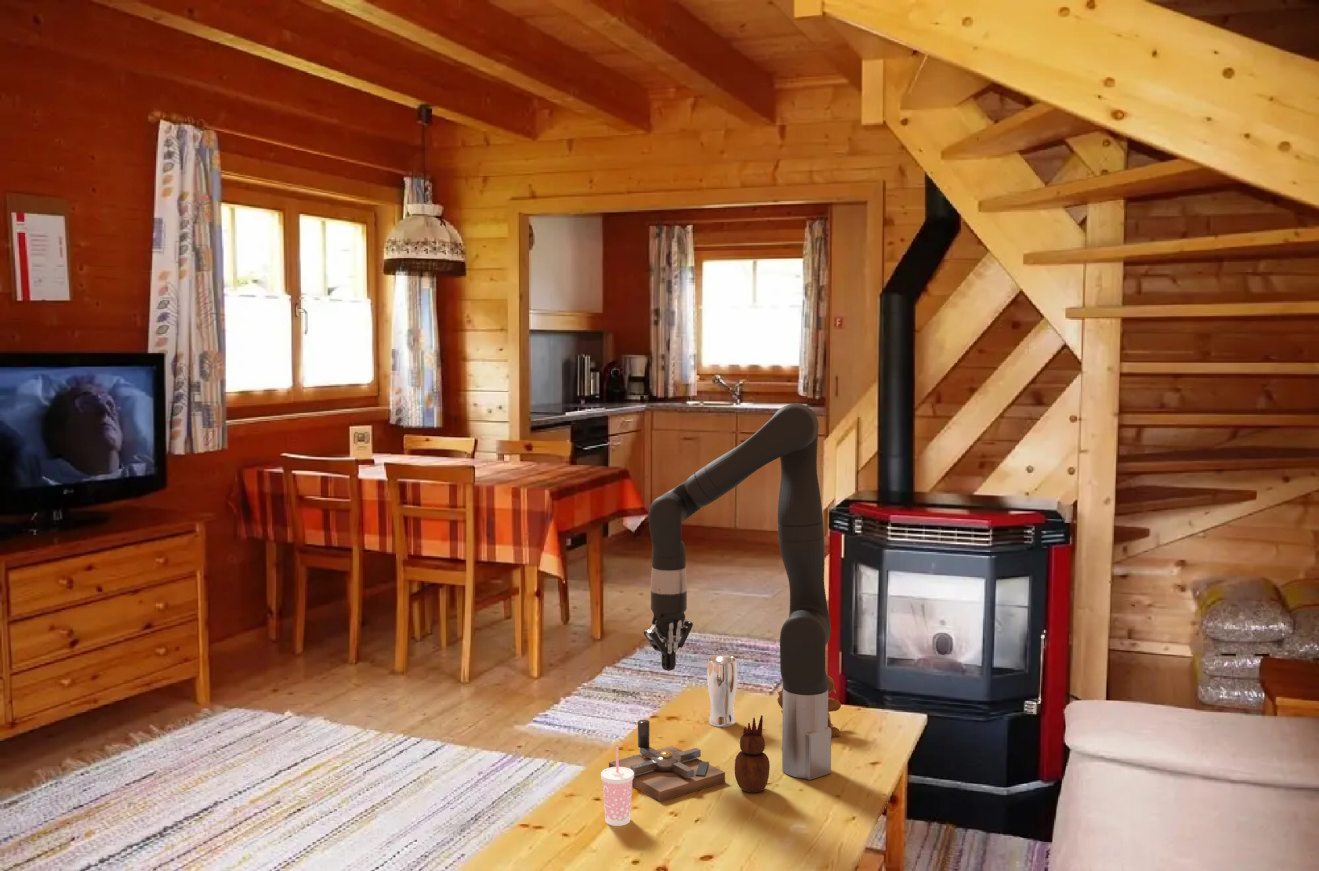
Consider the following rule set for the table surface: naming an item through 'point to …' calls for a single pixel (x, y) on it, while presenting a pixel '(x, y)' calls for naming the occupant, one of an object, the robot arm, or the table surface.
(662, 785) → the stand
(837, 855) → the table surface
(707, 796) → the table surface
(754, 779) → the wooden figurine
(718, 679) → the beer glass
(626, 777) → the beverage cup
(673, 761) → the capstan
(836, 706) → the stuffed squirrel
